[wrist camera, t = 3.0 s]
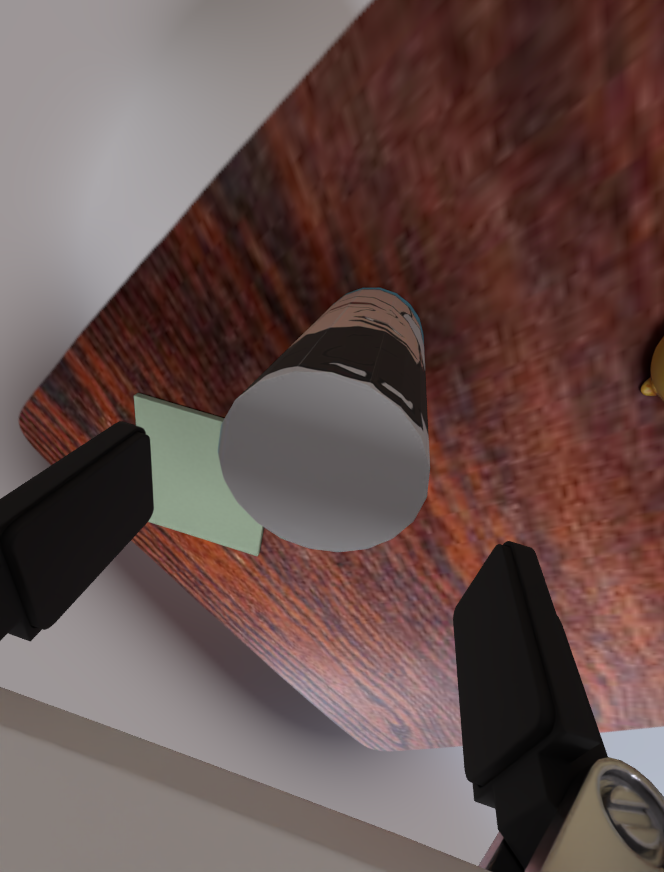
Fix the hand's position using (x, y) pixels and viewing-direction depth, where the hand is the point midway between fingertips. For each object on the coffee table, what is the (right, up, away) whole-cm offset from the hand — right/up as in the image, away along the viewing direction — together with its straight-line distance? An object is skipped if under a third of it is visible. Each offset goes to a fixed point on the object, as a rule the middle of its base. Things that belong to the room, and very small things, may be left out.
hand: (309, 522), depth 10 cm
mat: (-11, -2, +24) cm, 26 cm away
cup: (+3, +9, +15) cm, 17 cm away
